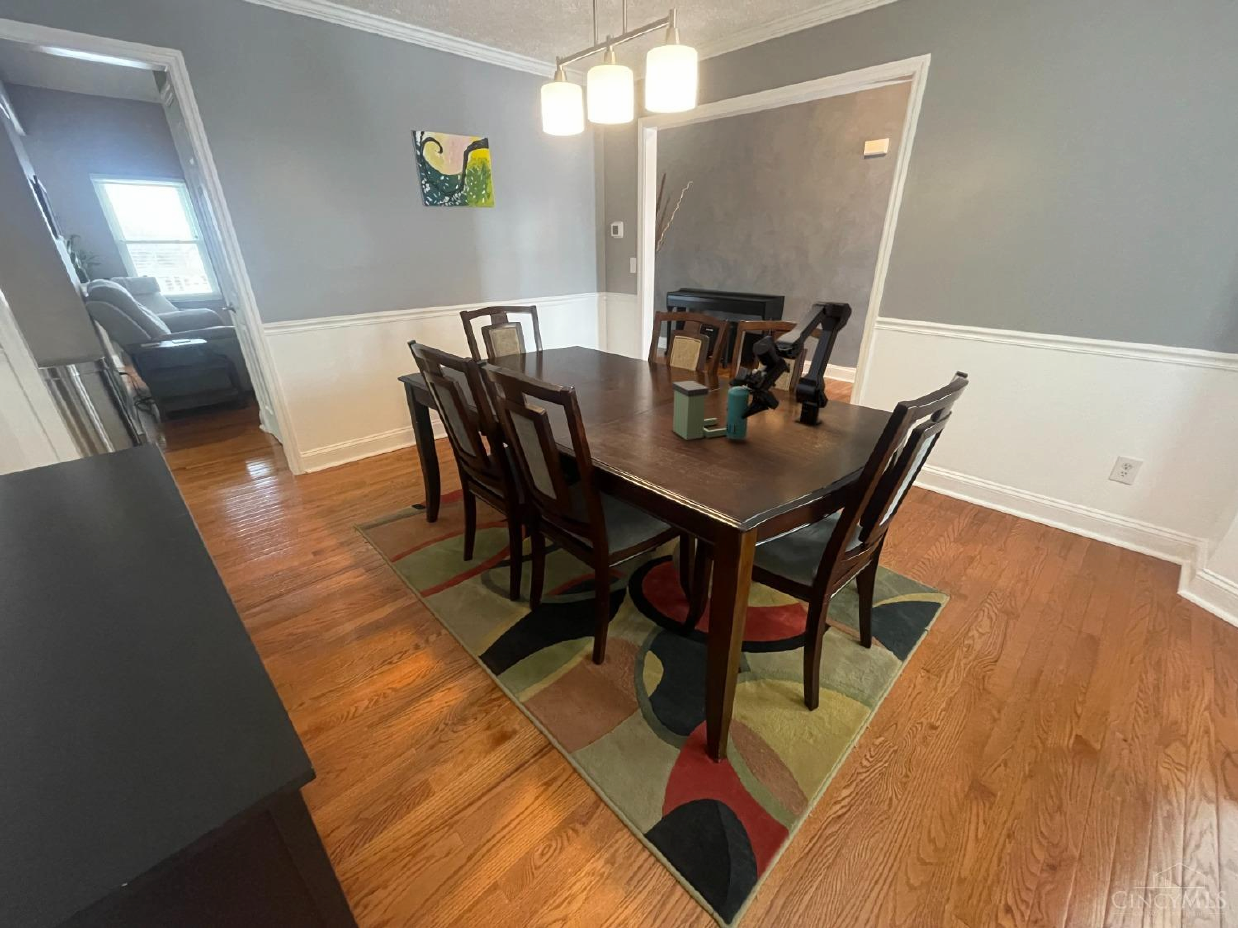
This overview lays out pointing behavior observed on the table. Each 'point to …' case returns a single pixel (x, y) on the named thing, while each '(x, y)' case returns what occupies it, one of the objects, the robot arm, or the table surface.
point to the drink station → (692, 411)
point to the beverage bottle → (737, 409)
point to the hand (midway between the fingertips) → (734, 414)
